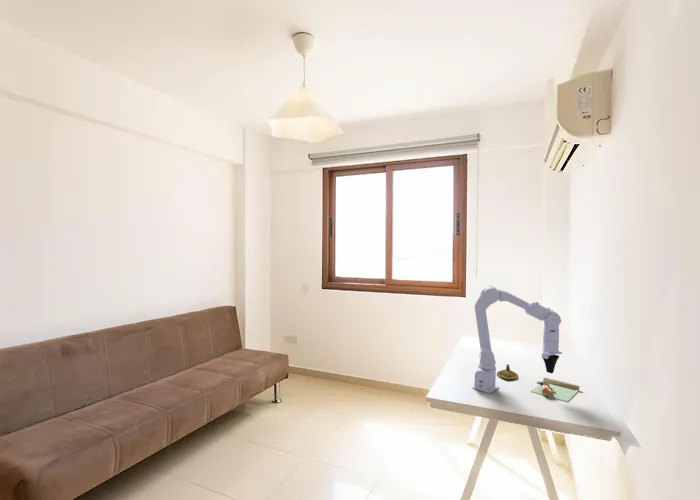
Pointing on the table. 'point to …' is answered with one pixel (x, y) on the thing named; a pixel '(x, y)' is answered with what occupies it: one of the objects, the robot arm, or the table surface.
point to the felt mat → (557, 392)
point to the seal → (507, 374)
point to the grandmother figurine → (546, 389)
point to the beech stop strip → (562, 384)
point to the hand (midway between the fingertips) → (550, 372)
